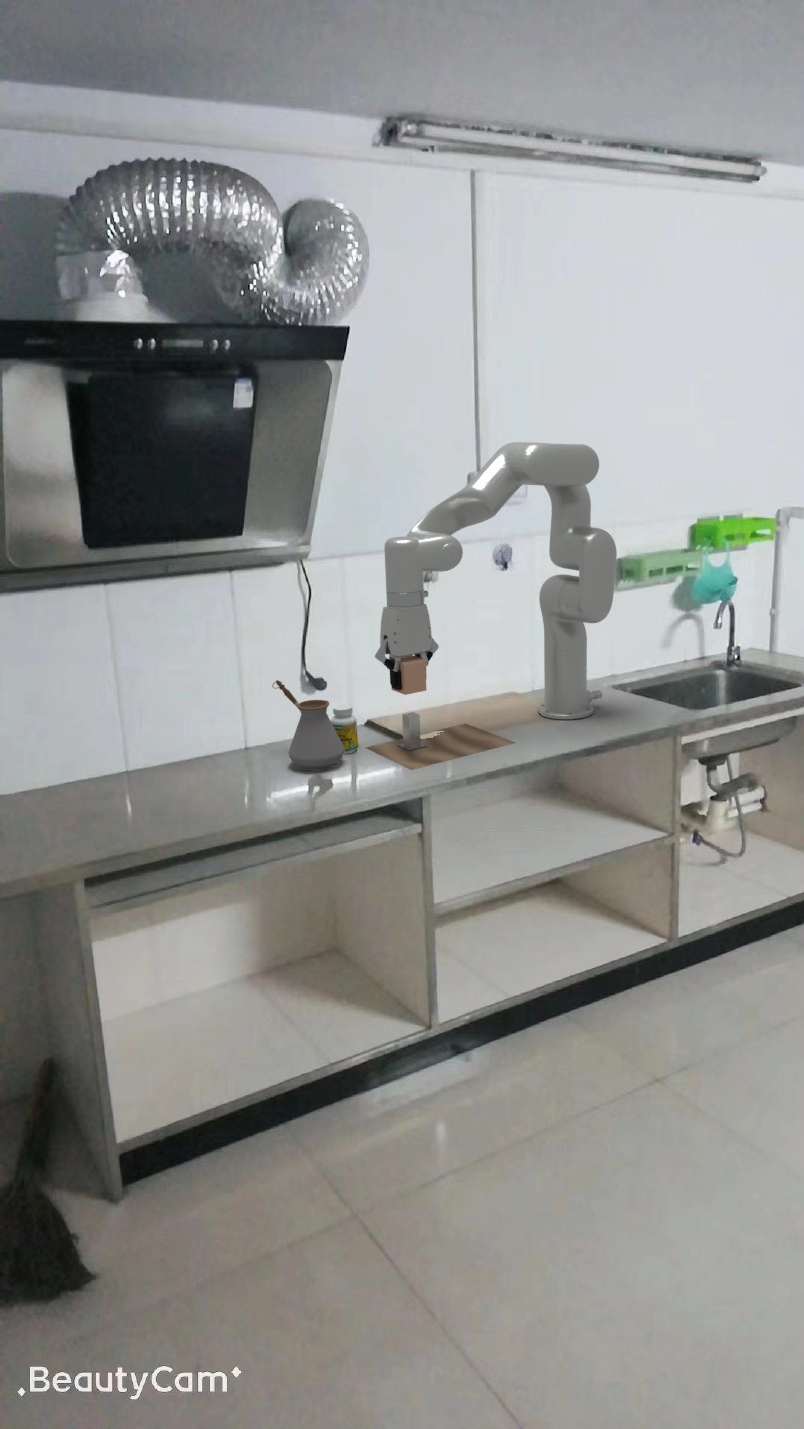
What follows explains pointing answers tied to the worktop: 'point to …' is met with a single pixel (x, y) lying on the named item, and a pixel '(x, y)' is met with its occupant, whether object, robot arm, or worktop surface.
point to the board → (441, 746)
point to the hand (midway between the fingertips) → (408, 685)
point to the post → (411, 732)
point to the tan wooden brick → (412, 675)
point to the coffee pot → (313, 735)
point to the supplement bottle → (345, 727)
